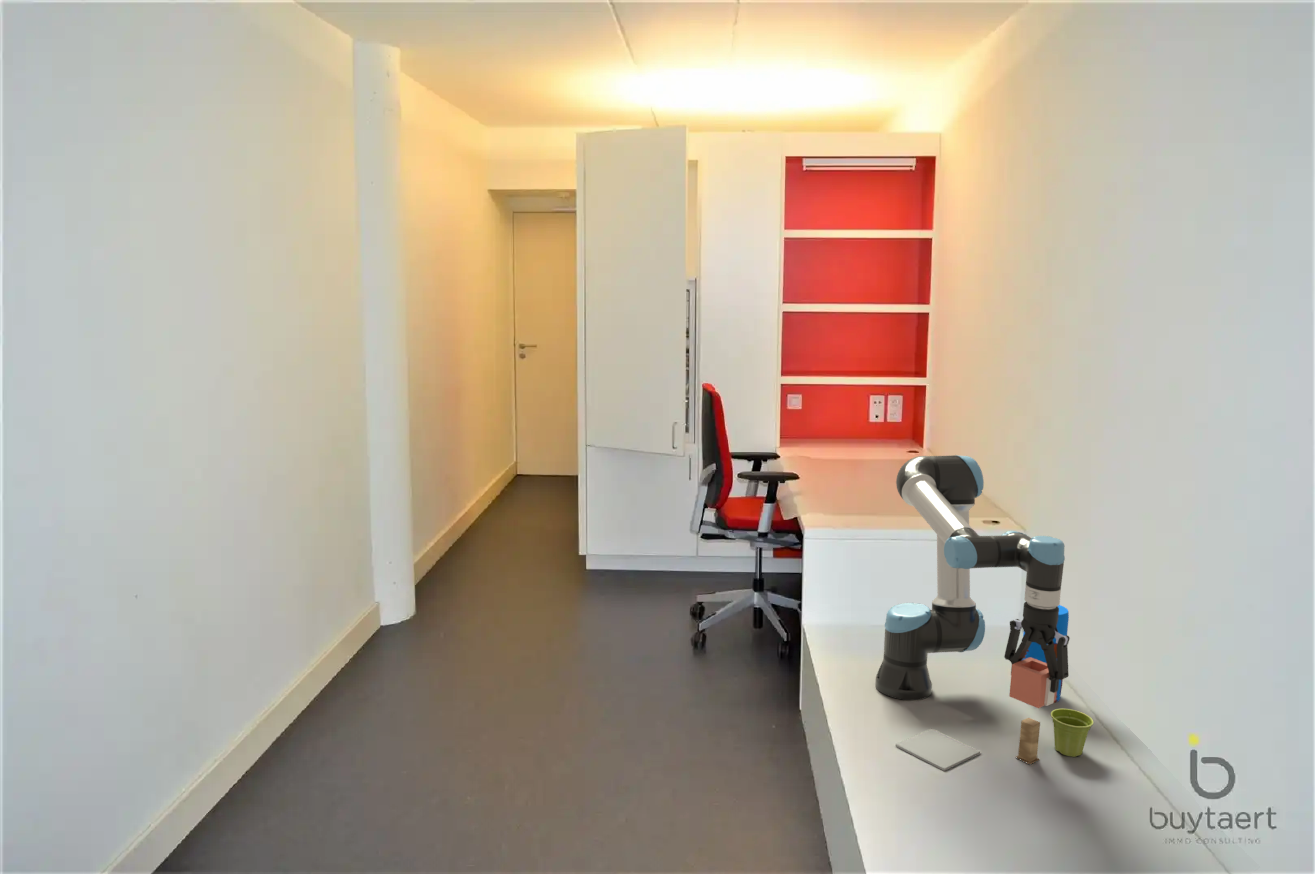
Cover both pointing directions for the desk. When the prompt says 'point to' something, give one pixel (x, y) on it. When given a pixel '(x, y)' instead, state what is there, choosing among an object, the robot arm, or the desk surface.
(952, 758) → the coaster
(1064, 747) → the plant pot
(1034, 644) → the thermos
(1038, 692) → the salmon square sleeve
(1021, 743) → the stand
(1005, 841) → the desk surface
